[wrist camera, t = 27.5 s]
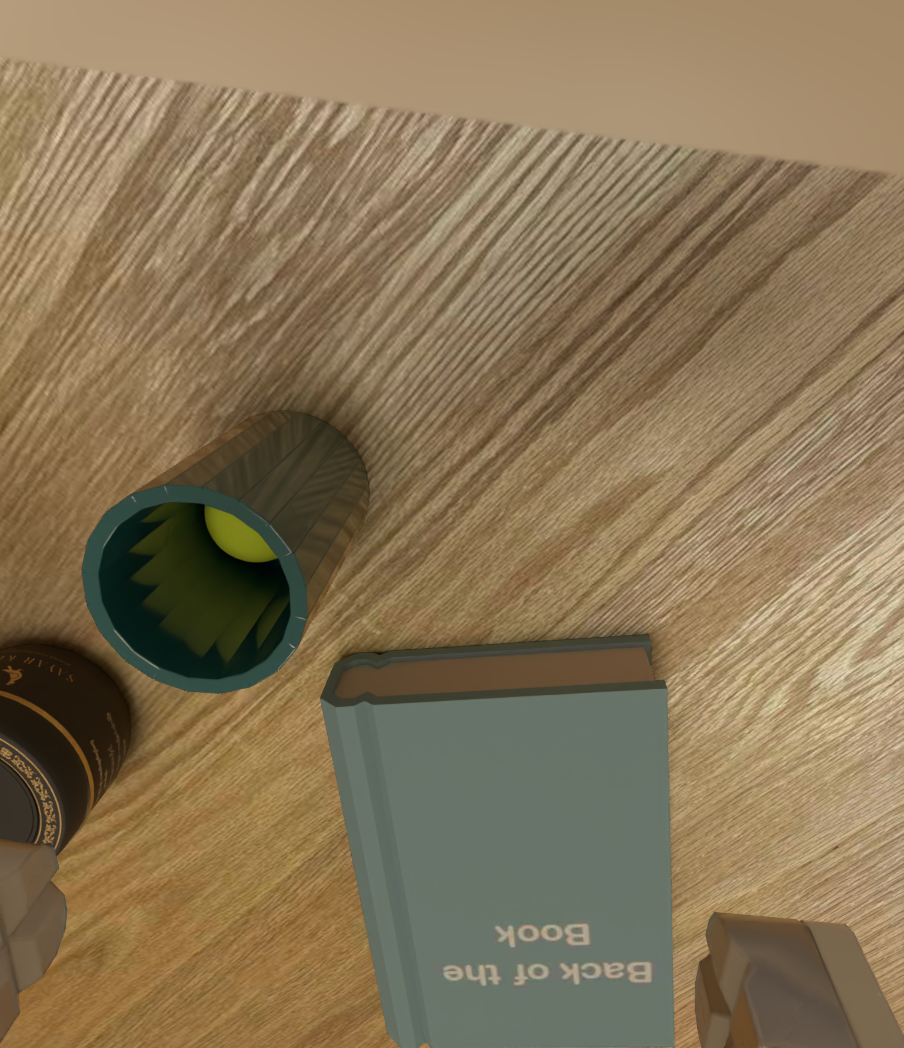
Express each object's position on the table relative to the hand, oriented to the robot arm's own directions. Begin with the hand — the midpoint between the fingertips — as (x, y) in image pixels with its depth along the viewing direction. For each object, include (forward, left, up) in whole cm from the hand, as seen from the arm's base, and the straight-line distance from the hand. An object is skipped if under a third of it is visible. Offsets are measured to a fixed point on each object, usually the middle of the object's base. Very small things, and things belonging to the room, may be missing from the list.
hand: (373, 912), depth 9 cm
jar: (+18, -23, -28) cm, 40 cm away
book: (+23, +3, -28) cm, 36 cm away
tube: (+4, -9, -28) cm, 29 cm away
